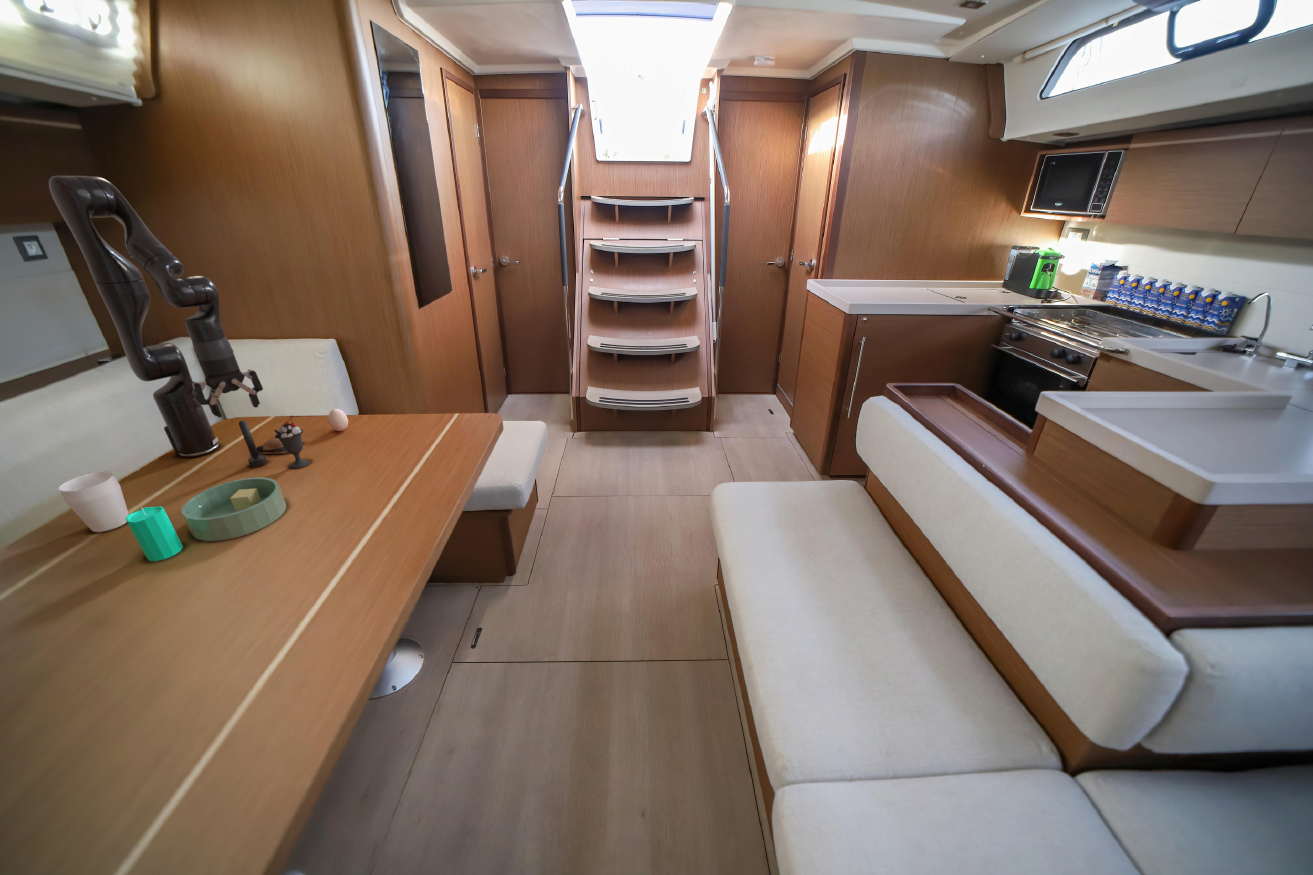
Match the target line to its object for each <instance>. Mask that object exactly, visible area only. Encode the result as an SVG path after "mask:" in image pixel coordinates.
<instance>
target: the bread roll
mask: <svg viewBox="0 0 1313 875" xmlns="http://www.w3.org/2000/svg"><path fill="white" fill-rule="evenodd" d="M256 448H257V451H258V453H259V455H269V454H270V455H277V454H289V453H288V452H287V451H286V450H285V448H284V446H283V444H282V443H281V441H280V440H279V439H277V438H275V437H272V438H270V439H268V440H267V441H266V442H265V443H264V444H262V445H258V446H256Z"/></svg>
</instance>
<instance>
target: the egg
mask: <svg viewBox="0 0 1313 875" xmlns="http://www.w3.org/2000/svg"><path fill="white" fill-rule="evenodd" d="M327 421H328V424H329V426H330V428H331V429H332V430H334V431H335V432H336V431H337V432H344V431H345V430H346V429H347V428H348V426H349V419H348V416H347V414H346V413H345V412H344V411H342V409H339V408H333V409H331V410H330V411H329V413H328V417H327Z"/></svg>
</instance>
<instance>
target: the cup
mask: <svg viewBox="0 0 1313 875" xmlns="http://www.w3.org/2000/svg"><path fill="white" fill-rule="evenodd" d="M58 490H59V492H60V494H61V496H62V498H63V501H64V502H65V503H66V504H67V505H68V507H69V508H70V509H71V510H72V511H73V512H74V513H75V514H76V515H77V517H79V519H80V520H81V521H82V522H83V523H84V524H85V525H86V526H87V527H88V528H89V529H90V530H91V532H95V533H102V532H103V533H104V532H107V531H111V530H114V529H117V528H119V527H121V526H123V525H125V524H127V521H126V517H127V516H128V514H130V513H129V510H128V507H127V503H126V501H125V496H124V494H123V490H122V487H121V484H120V483H119V481H118V480H117V478H116V477H115V475H114V474H113V473H112V472H110V471H97V472H92V473H87V474H84V475H80V476H77V477H74V478H72V479H69V480H67V481H65V482H64V483H62V484H61V485H60V486H59V487H58Z"/></svg>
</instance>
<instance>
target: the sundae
mask: <svg viewBox="0 0 1313 875" xmlns="http://www.w3.org/2000/svg"><path fill="white" fill-rule="evenodd" d="M293 417H294V415H290V416H289V419H288V420H286V421H285V422H284V423H283V424H282V425H280V427H279V430H278V429H273V432H275V433H276V434H275V435H274V438H277V439H279V440H280V441H281V443H282V444H283V446H284V448H285V450H286V451H287V452H288V453H287V454H290V455H293V456H294V459H295V461H293V462H292V463H290V465H289V467H290V469H300V468H304V467H306V466H308V465H309V464H310V460H309V459H302V457H301V455H300V453H301V452H302V451H303V449H304V445H303V444H304V443H303V438H302V434H303V433H304V430H303V429H302V428H300V427H299V426H296V423H294V422H293ZM289 421H290V422H291V423H290V422H289Z"/></svg>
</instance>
